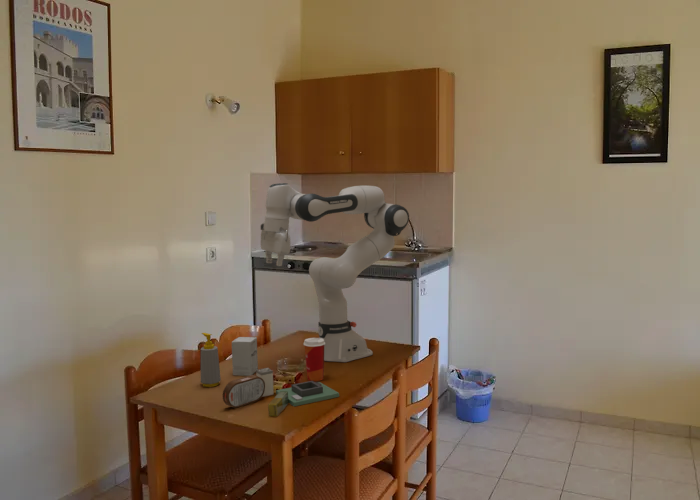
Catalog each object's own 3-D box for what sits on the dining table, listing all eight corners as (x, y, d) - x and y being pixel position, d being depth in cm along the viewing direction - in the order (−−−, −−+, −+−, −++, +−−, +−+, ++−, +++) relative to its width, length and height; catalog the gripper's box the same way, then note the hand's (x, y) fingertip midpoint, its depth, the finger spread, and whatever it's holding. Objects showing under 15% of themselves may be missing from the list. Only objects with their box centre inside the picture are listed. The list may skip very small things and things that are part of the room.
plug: (268, 391, 214) (267, 367, 213) (273, 394, 210) (272, 370, 209) (257, 393, 211) (256, 369, 211) (262, 396, 208) (261, 372, 207)
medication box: (280, 403, 202) (280, 390, 202) (289, 403, 202) (288, 390, 201) (268, 417, 191) (267, 404, 190) (277, 417, 190) (276, 404, 190)
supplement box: (251, 376, 230) (250, 341, 229) (232, 375, 232) (230, 341, 230) (258, 370, 237) (257, 336, 236) (239, 369, 239) (238, 336, 238)
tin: (261, 396, 208) (260, 371, 208) (267, 398, 206) (266, 373, 205) (222, 409, 198) (221, 382, 197) (228, 411, 196) (227, 384, 195)
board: (319, 385, 218) (319, 376, 218) (339, 396, 206) (338, 387, 206) (276, 393, 210) (275, 384, 210) (293, 406, 198) (293, 396, 198)
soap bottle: (212, 380, 227) (210, 330, 225) (225, 383, 222) (222, 333, 220) (196, 385, 222) (193, 334, 220) (208, 389, 217) (206, 337, 215)
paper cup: (310, 374, 230) (309, 336, 229) (329, 376, 227) (328, 338, 226) (300, 381, 223) (299, 341, 222) (320, 383, 220) (319, 343, 219)
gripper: (296, 229, 228) (293, 267, 229) (274, 225, 246) (271, 261, 246) (279, 228, 225) (277, 267, 226) (258, 225, 242) (256, 261, 243)
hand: (274, 264), depth 236 cm, fingers open, 8 cm apart
